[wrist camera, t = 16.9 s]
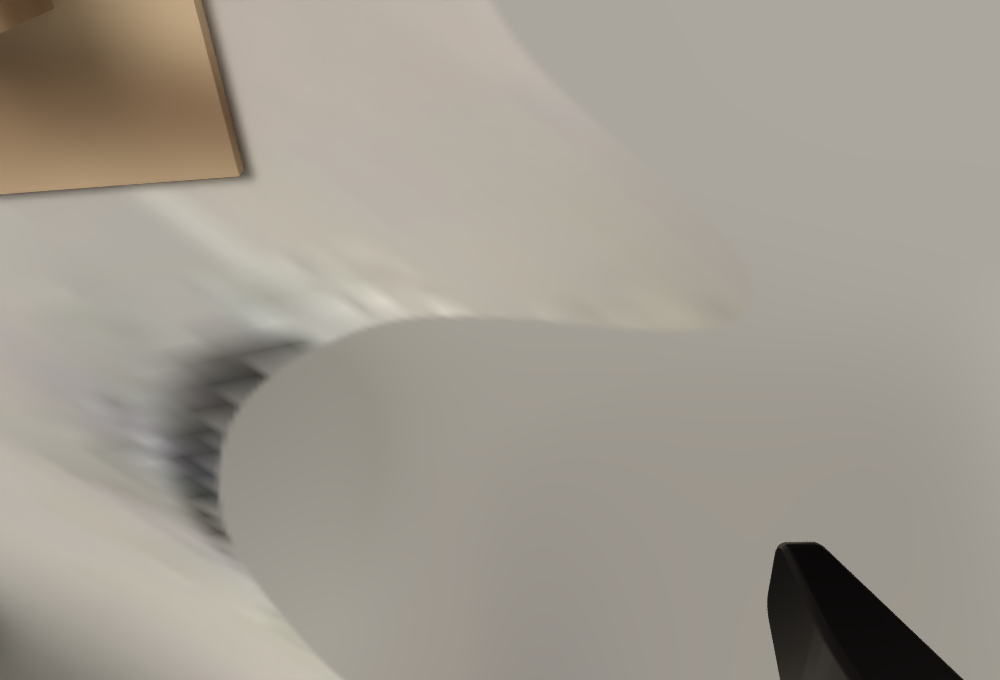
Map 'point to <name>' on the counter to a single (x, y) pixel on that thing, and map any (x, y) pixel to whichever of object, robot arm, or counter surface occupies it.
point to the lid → (110, 95)
